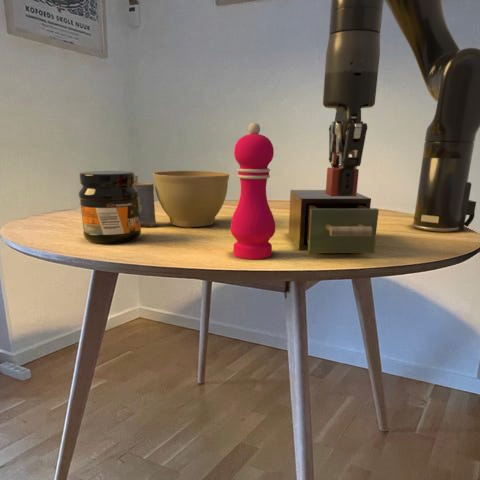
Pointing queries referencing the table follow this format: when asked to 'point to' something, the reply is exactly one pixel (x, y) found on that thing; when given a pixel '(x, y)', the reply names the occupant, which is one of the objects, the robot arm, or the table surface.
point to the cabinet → (313, 197)
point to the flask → (146, 203)
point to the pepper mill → (253, 197)
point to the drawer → (340, 228)
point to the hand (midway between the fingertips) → (341, 193)
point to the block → (333, 182)
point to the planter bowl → (191, 195)
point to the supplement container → (109, 206)
